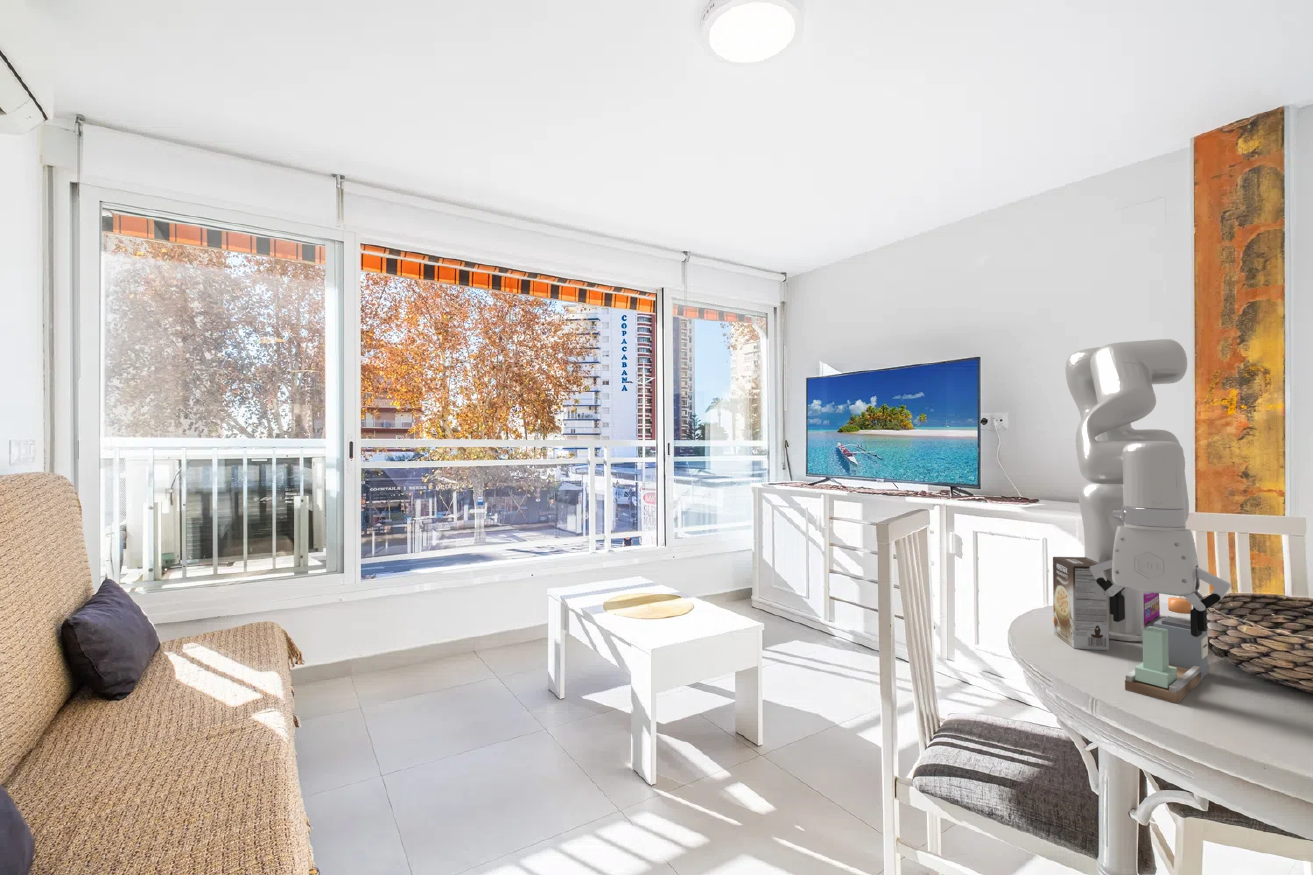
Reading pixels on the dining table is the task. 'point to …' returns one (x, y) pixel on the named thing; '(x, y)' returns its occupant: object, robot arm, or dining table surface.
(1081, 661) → the dining table surface
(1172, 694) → the rail track
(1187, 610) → the button
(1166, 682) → the carriage
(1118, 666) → the dining table surface
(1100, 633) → the coffee box
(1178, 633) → the grey upright housing
